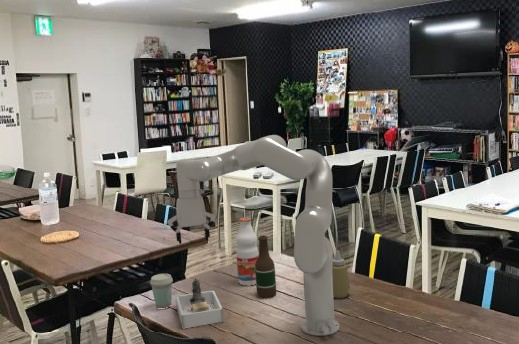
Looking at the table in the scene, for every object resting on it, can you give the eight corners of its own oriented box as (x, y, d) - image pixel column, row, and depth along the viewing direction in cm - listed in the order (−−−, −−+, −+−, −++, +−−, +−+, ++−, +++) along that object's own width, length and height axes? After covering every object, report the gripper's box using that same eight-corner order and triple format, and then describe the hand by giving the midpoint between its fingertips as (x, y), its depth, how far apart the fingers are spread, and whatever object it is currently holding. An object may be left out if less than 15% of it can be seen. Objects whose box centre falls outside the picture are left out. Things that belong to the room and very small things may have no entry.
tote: (223, 322, 188) (222, 308, 187) (182, 329, 184) (181, 315, 184) (214, 302, 207) (213, 290, 206) (177, 308, 203) (175, 296, 203)
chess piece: (207, 305, 202) (205, 275, 201) (203, 312, 197) (200, 280, 195) (193, 305, 204) (190, 275, 202) (188, 311, 198) (185, 280, 196)
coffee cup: (170, 311, 201) (167, 280, 200) (149, 310, 203) (146, 280, 201) (178, 302, 209) (175, 273, 208) (157, 302, 211) (154, 273, 210)
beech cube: (206, 314, 194) (205, 301, 194) (209, 319, 190) (208, 306, 189) (193, 317, 193) (192, 303, 192) (195, 322, 188) (194, 308, 187)
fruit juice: (263, 279, 229) (259, 216, 225) (256, 287, 220) (251, 221, 217) (243, 278, 232) (238, 215, 229) (235, 285, 224) (230, 220, 220)
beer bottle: (277, 291, 214) (273, 233, 211) (275, 298, 207) (272, 238, 203) (257, 292, 215) (254, 234, 212) (255, 299, 207) (251, 239, 204)
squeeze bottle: (344, 301, 200) (341, 254, 197) (325, 297, 205) (323, 252, 202) (354, 294, 206) (352, 249, 204) (335, 290, 211) (333, 246, 209)
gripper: (212, 190, 194) (215, 235, 196) (164, 195, 190) (168, 241, 192) (215, 193, 187) (219, 240, 189) (165, 198, 183) (170, 247, 185)
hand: (193, 241), depth 191 cm, fingers open, 9 cm apart
